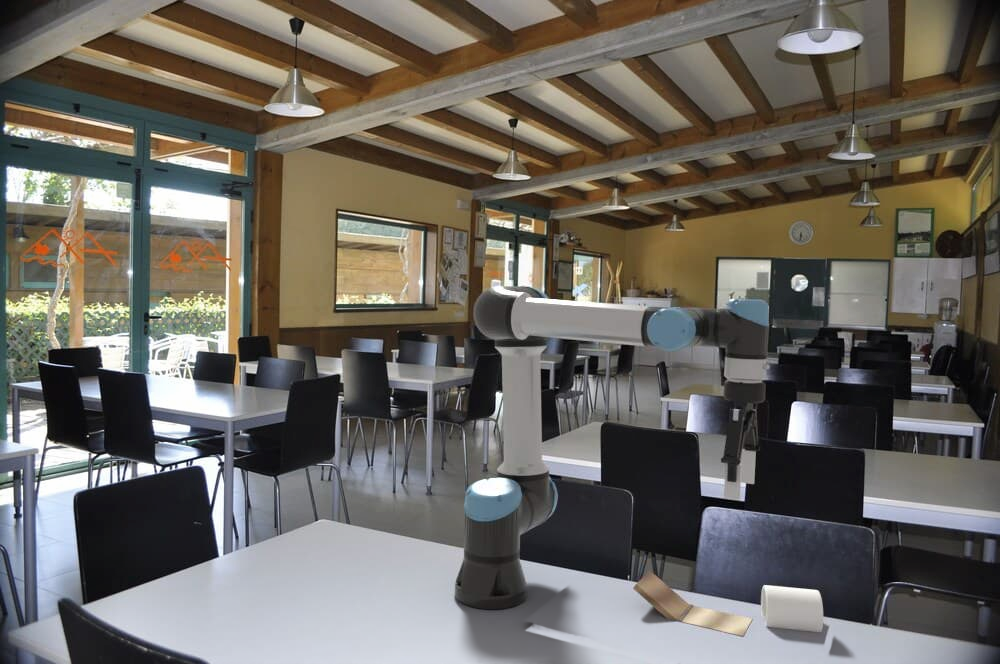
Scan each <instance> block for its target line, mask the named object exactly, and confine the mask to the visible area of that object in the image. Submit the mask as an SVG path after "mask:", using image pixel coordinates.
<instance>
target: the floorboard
mask: <svg viewBox="0 0 1000 664" xmlns="http://www.w3.org/2000/svg"><path fill="white" fill-rule="evenodd" d="M752 621H753V619H752V618H750V617H746V616H742V615H737V614H736V615H735V614H732V613H728V612H722V611H720V610H719V611H718V610H714V609H710V608H705V607H702V606H701V607H700V606H696V605H694V604H689V607H688V608H687V609H686V610H685V612H684V613H683V614H682V616H681V617H680V618H679V619H678V622H680V623H683V624H689V625H692V626H696V627H701V628H706V629H710V630H713V631H717V632H718V631H719V632H720V633H721V632H723V633H725V634H728V635H729V634H730V635H734V636H738V637H742V638H743V637H744V636H745V634H746V633H747V632H746V631H747V630H748V628H749V626H750V625H751V622H752Z"/></svg>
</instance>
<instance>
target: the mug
mask: <svg viewBox="0 0 1000 664" xmlns="http://www.w3.org/2000/svg"><path fill="white" fill-rule="evenodd" d="M823 604H824V603H823V598H822V595H821V593H820V591H819V590H818V589H809V588H798V587H788V586H781V585H780V586H779V585H768V584H766V585H765V584H763V586H762V589H761V595H760V612H761V613H760V615H761V616H762V617H766V618H765V624H764V626H765V627H767V628H774V629H784V630H785V629H786V630H793V631H803V632H812V633H822V631H823V627H824V606H823Z"/></svg>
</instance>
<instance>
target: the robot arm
mask: <svg viewBox="0 0 1000 664" xmlns="http://www.w3.org/2000/svg"><path fill="white" fill-rule="evenodd" d="M473 319H474V323H475V326H476V328H477V329H478V330H479V332H480V333H482V334H483V335H484V336H485V337H487V338H489V339H490V340H491V339H492V340H494V348H495V349H496V350H497V351H498V353H499V354H500V356H501V368H502V369H501V373H502V374H501V378H502V380H501V381H502V383H501V385H502V422H503V423H502V428H503V429H502V433H503V438H502V439H503V462H502V463H501V464H500V465H499V466H498V467H497V470H496V471H497V472H496V473H497V474H496V475H497V477H489V478H488V479H486V478H484V479H480V480H477V481H475V482H473V483H471V485H469V486H468V488H467V489H466V491H465V499H464V503H463V510H464V520H463V521H464V524H463V525H464V526H463V527H464V532H463V534H464V535H463V536H464V537H463V559H462V562H461V564H460V568H459V571H458V573H457V577H456V578H455V579H456V580H455V582H454V597H455V598H456V600H457V601H459V602H460V603H461V604H463V605H465V606H468V607H471V608H475V609H480V610H481V609H482V610H501V609H509V608H513V607H515V606H516V607H517V606H518V605H520V604H523V603H524V602H525V601H526V599H527V597H528V583H527V580H526V577H525V573H524V570H523V566H522V564H521V560H520V553H521V549H520V548H521V547H520V546H521V542H520V541H521V535H523V534H525V533H527V532H528V531H530V530H531V529H533V528H536V527H539V526H541V525H542V524H544V523H545V522H546V521H547V520H548V519H549V518H550V517H551V516H552V515H553V514H554V512H555V510H556V507H557V504H558V497H559V494H558V489H557V487H556V484H555V482H553V481H552V478H551V476H550V467H549V466H548V465H547V464H546V463H545V462H544V461H543V439H542V438H543V433H542V432H543V431H542V429H543V428H542V383H541V381H542V380H541V379H542V378H541V377H542V376H541V375H542V374H541V354H542V353H543V352H544V351H545V350H546V348H547V346H548V338H553V339H564V340H576V341H586V342H596V343H605V344H606V343H607V344H618V345H629V346H640V347H649V348H657V349H660V350H662V351H668V352H669V351H670V352H677V351H680V350H683V349H688V348H692V347H706V348H725V356H724V371H723V376H724V377H725V378H726V379H725V381H723V398H724V400H725V401H728V402H733V403H734V405H733V408H730V409H729V411H728V423H727V430H726V435H725V436H726V438H725V443H724V449H723V451H724V452H723V457H721V458H720V462H721V463H723V464H725V468H724V485H723V486H724V490H723V498H725V499H729V500H735V501H736V500H737V501H739V500H741V485H742V484H750V485H754V484H755V475H756V472H755V471H756V454H757V453H756V452H757V451H758V452H759V451H761V445H759V435H758V434H759V433H758V415H757V414H758V413H757V411H758V410H757V409H758V404H761V403H763V402H765V400H766V387H767V386H766V383H765V382H764V381H765V380H766V378H767V377H766V376H767V370H770V368H771V366H770V364H768V363H767V359H768V343H769V328H770V323H769V303H767V301H765V300H764V299H747V298H746V299H745V298H744V299H741V298H740V299H739V298H730V299H728V302H727V305H726V307H725V308H707V307H706V308H705V307H689V306H678V307H677V306H674V307H673V306H672V307H665V306H664V307H663V306H650V305H637V304H634V305H633V304H623V303H622V304H621V303H607V302H593V301H581V300H580V301H579V300H568V299H567V300H565V299H552V298H549V296H548V295H547V294H546V293H544V292H543V291H542V290H540V289H537V288H536V287H531V286H527V285H526V286H525V285H521V286H518V285H516V286H515V285H514V286H513V285H510V286H509V285H508V286H507V285H495V286H492V287H490V288H487V289H486V290H484V291H483V292H482V293H480V294H479V296H478V297H477V299H476V301H475V302H474V306H473Z"/></svg>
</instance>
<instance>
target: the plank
mask: <svg viewBox="0 0 1000 664" xmlns="http://www.w3.org/2000/svg"><path fill="white" fill-rule="evenodd" d="M632 589H633V590H634V591H636V593H637V594H639V595H640V597H642V598H643V599H644V600H645V601H646V602H648V603H649V605H651V606H652V607H653V608H655V610H657V612H659V613H660V614H661V615H662V616H664V617H665V618H666V619H668V620H671V621H675V622H677V621H678V620H679V618H680V617H681V616H682V615H683V613H684V612H685V611H686V609H687V608H688V607H689V606H690V604H689V602H687V601H686V600H685V599H683V597H681V596H680V595H679V594H678V593H677V592H675V590H673V588H671V587H670V586H668V585H667V584H666V583H665V582H664V581H663V580H662V579H660V578H659V577H658V576H657V575H656V574H654V573H653V572H652V571H651V570H648V572H646V574H645V575H644V576H642V578H640V579H639V580H638V582H636V584H635V585H634V586H633V588H632ZM678 622H679V621H678Z"/></svg>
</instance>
